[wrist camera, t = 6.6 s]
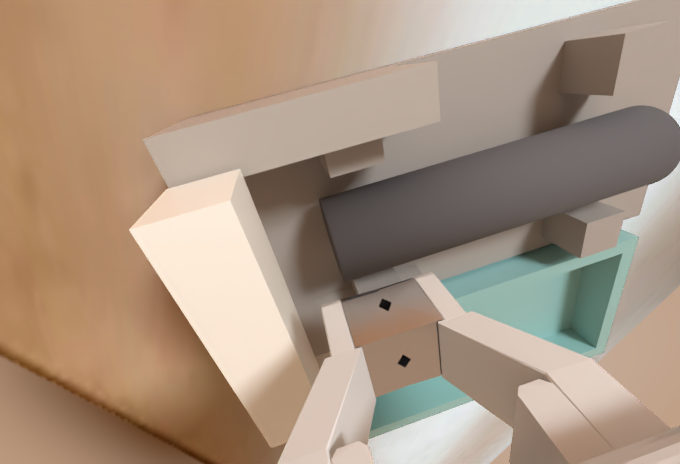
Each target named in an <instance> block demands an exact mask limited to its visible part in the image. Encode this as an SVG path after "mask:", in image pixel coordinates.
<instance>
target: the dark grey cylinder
mask: <svg viewBox="0 0 680 464" xmlns="http://www.w3.org/2000/svg"><path fill="white" fill-rule="evenodd" d="M679 161H680V127H679V125H678V124H677V122H676V121H675V120H674V119H673V118H672V117H671V116H670V115H669V114H668V113H666V112H664V111H663V110H661V109H658V108H655V107H652V106H645V105H638V106H631V107H627V108H624V109H621V110H617V111H614V112H610V113H607V114H604V115H600V116H597V117H594V118H590V119H587V120H583V121H580V122H577V123H573V124H570V125H567V126H563V127H560V128H556V129H553V130H550V131H546V132H543V133H540V134H536V135H533V136H530V137H526V138H523V139H519V140H516V141H513V142H509V143H506V144H503V145H499V146H496V147H492V148H489V149H486V150H482V151H479V152H476V153H472V154H469V155H465V156H462V157H459V158H455V159H452V160H449V161H445V162H442V163H438V164H435V165H432V166H428V167H425V168H422V169H418V170H415V171H411V172H408V173H405V174H401V175H398V176H395V177H391V178H388V179H384V180H381V181H378V182H374V183H371V184H368V185H364V186H361V187H357V188H354V189H351V190H347V191H344V192H341V193H337V194H334V195H331V196H327V197H324V198H320V199H319V204H320V208H321V212H322V216H323V219H324V223H325V226H326V230H327V233H328V237H329V240H330V243H331V246H332V249H333V253H334V256H335V259H336V262H337V265H338V268H339V270H340V273H341V276H342V278H343V281H344V282H348V281H351V280H354V279H358V278H361V277H364V276H367V275H370V274H373V273H376V272H379V271H382V270H385V269H389V268H392V267H395V266H398V265H401V264H404V263H407V262H410V261H413V260H417V259H420V258H423V257H426V256H429V255H432V254H435V253H438V252H441V251H444V250H448V249H451V248H454V247H457V246H460V245H463V244H466V243H469V242H472V241H475V240H479V239H482V238H485V237H488V236H491V235H494V234H497V233H500V232H503V231H506V230H510V229H513V228H516V227H519V226H522V225H525V224H528V223H531V222H534V221H537V220H541V219H544V218H547V217H550V216H553V215H556V214H559V213H562V212H565V211H568V210H572V209H575V208H578V207H581V206H584V205H587V204H590V203H593V202H596V201H599V200H603V199H606V198H609V197H612V196H615V195H618V194H621V193H624V192H627V191H630V190H634V189H637V188H640V187H643V186H646V185H649V184H652V183H655V182H658V181H660V180H661V179H663V178H665V177H666V176H668V175H669V174H670V173H671V172H672V171H673V170H674V169H675V167H676V166H677V165H678V163H679Z"/></svg>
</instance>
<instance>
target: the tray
mask: <svg viewBox="0 0 680 464" xmlns="http://www.w3.org/2000/svg"><path fill="white" fill-rule="evenodd" d="M638 238H639V237H638V236H635V235H633V234H631V233H628V232H626V231H624V230H620V234H619V238H618V241H617V245H616V247H613V248H610V249H608V250H605V251H602V252H599V253H596V254H593V255H590V256H587V257H584V258H581V259H580V258H578V257H577V256H575V255H573V254H571V253H570V252H568V251H566V250H564V249H563V248H561V247H559V246H557V245H556V244H554V243H553V244H550V245H547V246H544V247H541V248H538V249H535V250H532V251H528V252H525V253H522V254H519V255H516V256H513V257H510V258H507V259H504V260H501V261H498V262H495V263H492V264H489V265H486V266H483V267H480V268H477V269H474V270H471V271H468V272H465V273H462V274H459V275H456V276H453V277H450V278H447V279H444V280H441V281H440V282H441V283H442V284H443V285H444V286H445V288H446V289H447V290H448V291H449V292H450V294H451V295H452V296H453V297H454V299H455V300H456V301H457V302H458V303H459V305H460V306H461V307H462V308H463V309H464V311H465V312H466V313H468V312H471V311H473V312H476V313H478V314H481V315H483V316H486V317H488V318H491V319H493V320H496V321H498V322H501V323H503V324H506V325H508V326H511V327H513V328H516V329H518V330H521V331H523V332H526V333H528V334H531V335H533V336H536V337H538V338H541V339H543V340H546V341H548V342H551V343H553V344H556V345H558V346H561V347H563V348H566V349H568V350H571V351H573V352H576V353H578V354H581V355H584V356H586V357H589V358H590V357H592V356H595V355H598V354H601V353H603V352H604V350H605V347H606V344H607V340H608V337H609V334H610V330H611V327H612V324H613V321H614V317H615V314H616V311H617V307H618V304H619V301H620V297H621V294H622V291H623V288H624V284H625V281H626V278H627V274H628V271H629V268H630V264H631V261H632V258H633V254H634V251H635V248H636V245H637V241H638ZM470 401H473V399H472V398H471V397H469V396H468V395H466V394H465V393H464V392H462V391H461V390H459V389H458V388H457V387H455V386H454V385H452V384H451V383H450V382H448V381H447V380H445V379H444V378H443V377H442V375H441V376H438V377H435V378H432V379H428V380H425V381H422V382H418V383H415V384H412V385H408V386H406V387H403V388H400V389H398V390H395V391H392V392H389V393H387V394H384V395H381V396H379V397H376V404H375V409H374V414H373V419H372V424H371V429H370V434H369V438H368V439H370V438H373V437H376V436H378V435H381V434H384V433H386V432H389V431H392V430H395V429H397V428H400V427H403V426H405V425H408V424H411V423H414V422H416V421H419V420H422V419H424V418H427V417H430V416H433V415H435V414H438V413H441V412H443V411H446V410H449V409H451V408H454V407H457V406H460V405H462V404H465V403H468V402H470Z"/></svg>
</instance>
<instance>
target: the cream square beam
mask: <svg viewBox="0 0 680 464" xmlns="http://www.w3.org/2000/svg"><path fill="white" fill-rule="evenodd" d="M129 231H130V232H131V234H132V235H133V237H134V238H135V240H136V241H137V243H138V245H139V246H140V248H141V249H142V251H143V252H144V254H145V255H146V257H147V258H148V260H149V261H150V263H151V264H152V266H153V268H154V269H155V271H156V272H157V274H158V275H159V277H160V278H161V280H162V281H163V283H164V284H165V286H166V288H167V289H168V291H169V292H170V294H171V295H172V297H173V298H174V300H175V301H176V303H177V304H178V306H179V307H180V309H181V311H182V312H183V314H184V315H185V317H186V318H187V320H188V321H189V323H190V324H191V326H192V327H193V329H194V330H195V332H196V334H197V335H198V337H199V338H200V340H201V341H202V343H203V344H204V346H205V347H206V349H207V350H208V352H209V354H210V355H211V357H212V358H213V360H214V361H215V363H216V364H217V366H218V367H219V369H220V370H221V372H222V373H223V375H224V377H225V378H226V380H227V381H228V383H229V384H230V386H231V387H232V389H233V390H234V392H235V393H236V395H237V396H238V398H239V400H240V401H241V403H242V404H243V406H244V407H245V409H246V410H247V412H248V413H249V415H250V416H251V418H252V420H253V421H254V423H255V424H256V426H257V427H258V429H259V430H260V432H261V433H262V435H263V436H264V438H265V439H266V441H267V443H268V444H269V446H270V447H271V448H274V447H277V446H279V445H282V444H285V443H287V441H288V439H289V437H290V435H291V432H292V430H293V428H294V426H295V424H296V421H297V419H298V417H299V415H300V413H301V410H302V408H303V406H304V404H305V401H306V399H307V397H308V395H309V393H310V390H311V388H312V386H313V384H314V382H315V379H316V377H317V375H318V373H319V365H318V363H317V360H316V358H315V355H314V353H313V350H312V348H311V345H310V343H309V340H308V338H307V335H306V333H305V330H304V328H303V325H302V323H301V320H300V318H299V315H298V313H297V310H296V308H295V305H294V303H293V300H292V298H291V295H290V293H289V290H288V288H287V285H286V283H285V280H284V278H283V275H282V273H281V270H280V267H279V265H278V262H277V260H276V257H275V255H274V252H273V250H272V247H271V245H270V242H269V240H268V237H267V235H266V232H265V230H264V227H263V225H262V222H261V220H260V217H259V215H258V212H257V210H256V207H255V205H254V202H253V200H252V197H251V195H250V192H249V190H248V187H247V185H246V182H245V180H244V177H243V175H242V172H241V170H240V169H237V170H233V171H229V172H226V173H222V174H219V175H215V176H212V177H208V178H205V179H201V180H197V181H194V182H190V183H187V184H183V185H180V186H176V187H173V188H169V189H166V190H165V191H164V192H163V194H162V195H161V196H160V197H159V198H158V199H157V200H156V201H155V202H154V203H153V204H152V205H151V207H150V208H149V209H148V210H147V211H146V212H145V213H144V214H143V215H142V216H141V217H140V218H139V220H138V221H137V222H136V223H135V224H134V225H133V226H132V227H131V228H130V229H129Z"/></svg>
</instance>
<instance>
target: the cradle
mask: <svg viewBox="0 0 680 464" xmlns="http://www.w3.org/2000/svg"><path fill="white" fill-rule="evenodd" d="M679 77H680V0H634V1H630V2H626V3H622V4H618V5H615V6H611V7H607V8H603V9H600V10H596V11H592V12H588V13H584V14H581V15H577V16H573V17H569V18H565V19H562V20H558V21H554V22H550V23H547V24H543V25H539V26H535V27H531V28H528V29H524V30H520V31H516V32H512V33H509V34H505V35H501V36H497V37H493V38H490V39H486V40H482V41H478V42H475V43H471V44H467V45H463V46H459V47H456V48H452V49H448V50H444V51H440V52H437V53H433V54H429V55H425V56H421V57H418V58H414V59H410V60H406V61H403V62H399V63H395V64H391V65H387V66H384V67H380V68H376V69H372V70H368V71H365V72H361V73H357V74H353V75H349V76H346V77H342V78H338V79H334V80H331V81H327V82H323V83H319V84H315V85H312V86H308V87H304V88H300V89H296V90H293V91H289V92H285V93H281V94H277V95H274V96H270V97H266V98H262V99H259V100H255V101H251V102H247V103H243V104H240V105H236V106H232V107H228V108H224V109H221V110H217V111H213V112H209V113H205V114H202V115H198V116H194V117H190V118H187V119H185V120H182V121H180V122H178V123H176V124H174V125H172V126H170V127H168V128H166V129H164V130H161V131H159V132H157V133H155V134H153V135H151V136H149V137H147V138H145V139H143V141H144V143H145V145H146V147H147V149H148V151H149V153H150V154H151V156H152V158H153V160H154V162H155V164H156V166H157V168H158V169H159V171H160V173H161V175H162V177H163V179H164V181H165V182H166V184H167V186H168V188H173V187H176V186H180V185H183V184H187V183H190V182H194V181H197V180H201V179H205V178H208V177H212V176H215V175H219V174H222V173H226V172H229V171H233V170H237V169H240V170H241V172H242V175H243V177H244V180H245V182H246V185H247V187H248V190H249V192H250V195H251V197H252V200H253V202H254V205H255V207H256V210H257V212H258V215H259V217H260V220H261V222H262V225H263V227H264V230H265V232H266V235H267V237H268V240H269V242H270V245H271V247H272V250H273V252H274V255H275V257H276V260H277V262H278V265H279V267H280V270H281V273H282V275H283V278H284V280H285V283H286V285H287V288H288V290H289V293H290V295H291V298H292V300H293V303H294V305H295V308H296V310H297V313H298V315H299V318H300V320H301V323H302V325H303V328H304V330H305V333H306V335H307V338H308V340H309V343H310V345H311V348H312V350H313V353H314V355H315V358H316V360H317V363H318V365H319V371H320V368H321V366H322V364H323V362H324V359H325V358H328V357H331V354H330V350H329V345H328V340H327V335H326V330H325V325H324V321H323V316H322V311H321V305H324V304H327V303H331V302H335V301H338V300H340V299H344V298H347V297H351V296H354V295H358V294H361V293H365V292H368V291H372V290H375V289H379V288H382V287H385V286H388V285H391V284H394V283H397V282H401V281H404V280H407V279H410V278H412V277H415V276H418V275H421V274H424V273H427V272H432V273H434V274H435V276H436V277H437V278H438V279H439V280H440V281H441V280H444V279H447V278H450V277H453V276H456V275H459V274H462V273H465V272H468V271H471V270H474V269H477V268H480V267H483V266H486V265H489V264H492V263H495V262H498V261H501V260H504V259H507V258H510V257H513V256H516V255H519V254H522V253H525V252H528V251H532V250H535V249H538V248H541V247H544V246H547V245H550V244H553V243H554V244H556V245H557V246H559V247H561V248H563V249H564V250H566V251H568V252H570V253H571V254H573V255H575V256H577V257H578V258H580V259H581V258H584V257H587V256H590V255H593V254H596V253H599V252H602V251H605V250H608V249H610V248H613V247H616V245H617V241H618V238H619V234H620V230H621V226H622V223H623V220H625V219H628V218H631V217H634V216H637V215H639V214H640V211H641V207H642V204H643V201H644V197H645V194H646V190H647V187H648V185H646V186H643V187H640V188H637V189H634V190H630V191H627V192H624V193H621V194H618V195H615V196H612V197H609V198H606V199H603V200H599V201H596V202H593V203H590V204H587V205H584V206H581V207H578V208H575V209H572V210H568V211H565V212H562V213H559V214H556V215H553V216H550V217H547V218H544V219H541V220H537V221H534V222H531V223H528V224H525V225H522V226H519V227H516V228H513V229H510V230H506V231H503V232H500V233H497V234H494V235H491V236H488V237H485V238H482V239H479V240H475V241H472V242H469V243H466V244H463V245H460V246H457V247H454V248H451V249H448V250H444V251H441V252H438V253H435V254H432V255H429V256H426V257H423V258H420V259H417V260H413V261H410V262H407V263H404V264H401V265H398V266H395V267H392V268H389V269H385V270H382V271H379V272H376V273H373V274H370V275H367V276H364V277H361V278H358V279H354V280H351V281H348V282H344V281H343V278H342V276H341V273H340V270H339V268H338V265H337V262H336V259H335V256H334V253H333V249H332V246H331V243H330V240H329V237H328V233H327V230H326V226H325V223H324V219H323V216H322V212H321V208H320V204H319V199H320V198H324V197H327V196H331V195H334V194H337V193H341V192H344V191H347V190H351V189H354V188H357V187H361V186H364V185H368V184H371V183H374V182H378V181H381V180H384V179H388V178H391V177H395V176H398V175H401V174H405V173H408V172H411V171H415V170H418V169H422V168H425V167H428V166H432V165H435V164H438V163H442V162H445V161H449V160H452V159H455V158H459V157H462V156H465V155H469V154H472V153H476V152H479V151H482V150H486V149H489V148H492V147H496V146H499V145H503V144H506V143H509V142H513V141H516V140H519V139H523V138H526V137H530V136H533V135H536V134H540V133H543V132H546V131H550V130H553V129H556V128H560V127H563V126H567V125H570V124H573V123H577V122H580V121H583V120H587V119H590V118H594V117H597V116H600V115H604V114H607V113H610V112H614V111H617V110H621V109H624V108H627V107H631V106H638V105H645V106H652V107H655V108H658V109H661V110H663V111H664V112H666V113H668V114H669V111H670V108H671V105H672V101H673V98H674V94H675V91H676V87H677V84H678V81H679ZM340 302H341V300H340ZM342 308H343V307H342Z"/></svg>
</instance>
